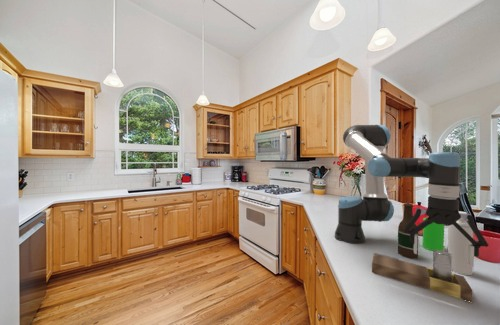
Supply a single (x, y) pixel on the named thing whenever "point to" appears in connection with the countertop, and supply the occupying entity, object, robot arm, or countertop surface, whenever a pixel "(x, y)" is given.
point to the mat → (386, 256)
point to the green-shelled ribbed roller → (433, 236)
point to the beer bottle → (406, 234)
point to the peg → (442, 265)
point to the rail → (421, 277)
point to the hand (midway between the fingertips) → (441, 258)
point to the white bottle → (459, 247)
